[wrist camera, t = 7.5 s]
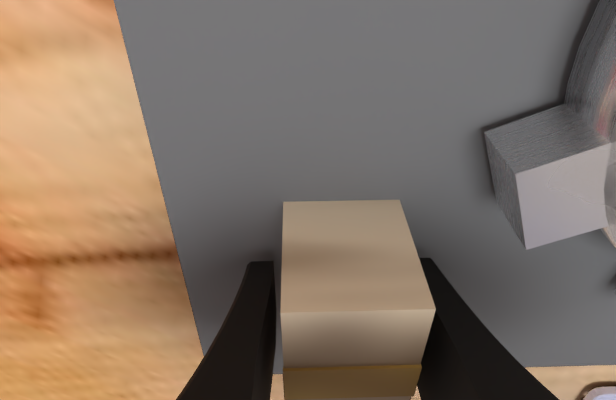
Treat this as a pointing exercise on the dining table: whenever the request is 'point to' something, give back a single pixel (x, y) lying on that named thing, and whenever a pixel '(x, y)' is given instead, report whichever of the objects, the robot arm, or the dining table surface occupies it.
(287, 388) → the banded wooden block
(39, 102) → the dining table surface
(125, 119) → the dining table surface
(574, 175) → the sprocket
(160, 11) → the mat
